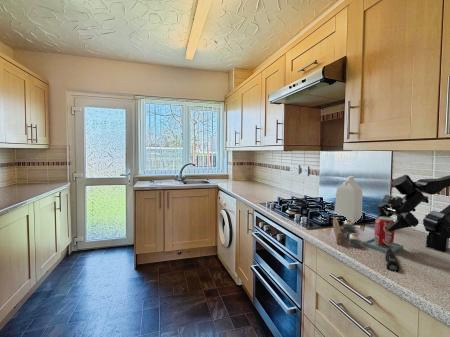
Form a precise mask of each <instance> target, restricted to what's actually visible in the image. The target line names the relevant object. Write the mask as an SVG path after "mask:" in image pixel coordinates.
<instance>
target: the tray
mask: <svg viewBox="0 0 450 337" xmlns="http://www.w3.org/2000/svg"><path fill="white" fill-rule="evenodd" d="M362 246H364V247H367V248H369V249H373V250H376V251H378V252H382V253H385V254H386V252H387V250H388V249H391V250H392V251H393V253H394V254H396V253H398V252H400V251H401V250H403V249H404V245H403V244H400V243H397V242H393V246H391V247H389V248H385V247H381V246H378V245H377V244H376V243H375V242H374V237H373V238H370V239H367V240H365V241H362Z"/></svg>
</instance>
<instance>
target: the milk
mask: <svg viewBox="0 0 450 337" xmlns="http://www.w3.org/2000/svg"><path fill="white" fill-rule="evenodd" d="M335 196H336V197H335V202H334V204H335V205H334V211H333V212H334V213H333V215H334V214H337V215H342V216H344V217H346V219H347V220H351V221H352V225H354V224H356V223H358V222H357V221H358V220H359V219H360V218H361V216H362V217H363V189H362V187H361V186H360V185H359V184H358V183H357V182H356V181H355V176H353V175H350V176H346V180H345V181H344V182H342V184H340V185H339V186H338V187H337V188H336V195H335ZM355 222H356V223H355Z"/></svg>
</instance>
